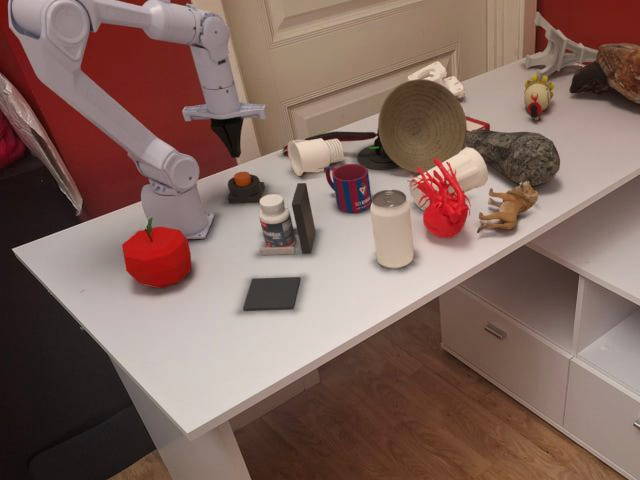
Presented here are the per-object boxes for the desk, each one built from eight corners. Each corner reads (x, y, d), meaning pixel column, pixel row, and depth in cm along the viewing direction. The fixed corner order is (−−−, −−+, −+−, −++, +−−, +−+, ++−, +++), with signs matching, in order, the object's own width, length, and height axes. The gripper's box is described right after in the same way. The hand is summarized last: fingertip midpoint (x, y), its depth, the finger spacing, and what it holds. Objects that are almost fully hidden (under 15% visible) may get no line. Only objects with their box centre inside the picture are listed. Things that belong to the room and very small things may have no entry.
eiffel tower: (524, 64, 187) (625, 78, 195) (537, 83, 177) (643, 97, 185) (536, 11, 178) (641, 28, 186) (550, 28, 168) (661, 45, 177)
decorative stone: (484, 151, 151) (456, 173, 146) (480, 108, 144) (450, 130, 139) (570, 178, 141) (542, 203, 136) (570, 134, 134) (540, 158, 129)
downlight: (299, 185, 144) (343, 175, 148) (303, 163, 138) (349, 154, 142) (283, 154, 145) (327, 145, 150) (287, 131, 139) (333, 123, 144)
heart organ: (428, 251, 121) (440, 186, 114) (400, 219, 129) (410, 157, 122) (477, 248, 126) (491, 185, 119) (447, 218, 134) (459, 158, 127)
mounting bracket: (457, 70, 164) (417, 91, 165) (467, 95, 168) (427, 115, 169) (445, 56, 173) (406, 76, 174) (455, 80, 177) (417, 99, 178)
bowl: (370, 83, 144) (377, 74, 137) (455, 89, 150) (467, 81, 142) (372, 175, 147) (379, 171, 140) (456, 178, 153) (467, 174, 145)
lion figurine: (496, 168, 131) (542, 180, 131) (493, 190, 136) (538, 201, 135) (474, 221, 123) (524, 234, 123) (472, 242, 128) (520, 255, 127)
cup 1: (352, 217, 132) (347, 184, 127) (319, 198, 137) (313, 166, 132) (379, 203, 135) (375, 171, 131) (346, 186, 140) (341, 154, 136)
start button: (234, 187, 135) (232, 179, 134) (237, 179, 137) (235, 171, 136) (250, 187, 135) (248, 178, 134) (253, 179, 137) (251, 171, 136)
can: (385, 273, 119) (377, 212, 110) (371, 254, 123) (363, 193, 115) (419, 263, 121) (415, 202, 113) (405, 244, 125) (399, 184, 117)
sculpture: (583, 133, 175) (666, 129, 157) (561, 68, 166) (646, 55, 148) (622, 101, 182) (705, 94, 163) (602, 36, 173) (689, 21, 154)
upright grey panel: (260, 255, 123) (247, 205, 116) (267, 233, 128) (255, 184, 121) (310, 253, 123) (300, 203, 116) (315, 231, 128) (306, 182, 121)
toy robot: (376, 175, 143) (369, 118, 135) (346, 153, 150) (338, 99, 142) (424, 157, 148) (420, 102, 140) (393, 137, 155) (388, 84, 147)
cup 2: (420, 174, 126) (480, 145, 133) (399, 175, 133) (456, 147, 139) (436, 216, 130) (493, 185, 136) (414, 215, 136) (470, 186, 142)
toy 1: (288, 169, 151) (284, 148, 151) (380, 138, 146) (375, 116, 147) (282, 165, 148) (278, 144, 149) (376, 133, 144) (371, 111, 145)
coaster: (243, 310, 112) (242, 308, 111) (252, 280, 118) (252, 278, 117) (293, 309, 112) (293, 306, 112) (300, 279, 118) (300, 276, 117)
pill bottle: (260, 248, 125) (248, 204, 118) (277, 232, 128) (266, 189, 122) (285, 254, 123) (275, 210, 117) (301, 238, 127) (292, 195, 121)
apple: (191, 293, 115) (172, 242, 108) (125, 297, 114) (102, 246, 107) (204, 256, 123) (187, 207, 116) (142, 260, 122) (121, 210, 115)
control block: (228, 203, 136) (224, 189, 134) (234, 187, 140) (231, 174, 138) (259, 202, 136) (256, 188, 134) (264, 187, 140) (261, 173, 138)
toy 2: (548, 95, 155) (555, 67, 165) (516, 96, 156) (525, 68, 167) (549, 126, 160) (556, 97, 170) (518, 126, 161) (527, 97, 172)
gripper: (263, 73, 126) (278, 144, 135) (181, 75, 125) (202, 146, 135) (256, 89, 121) (272, 161, 130) (171, 91, 120) (193, 164, 129)
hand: (236, 155), depth 132 cm, fingers closed
